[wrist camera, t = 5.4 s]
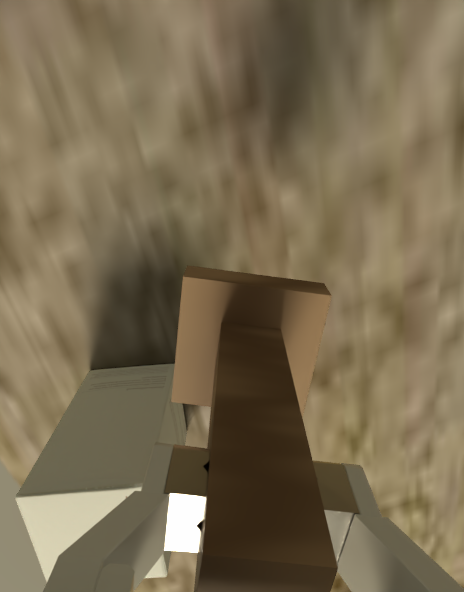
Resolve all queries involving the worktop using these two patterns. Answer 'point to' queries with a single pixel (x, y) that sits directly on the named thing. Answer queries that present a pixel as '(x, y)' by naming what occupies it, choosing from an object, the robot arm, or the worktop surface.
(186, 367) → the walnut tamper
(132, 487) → the supplement box
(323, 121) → the worktop surface
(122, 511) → the robot arm
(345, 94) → the worktop surface
